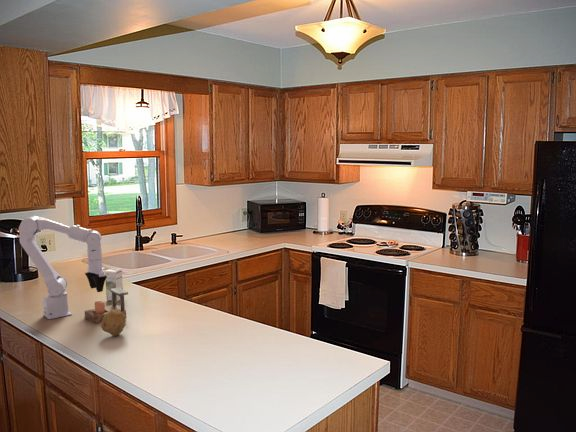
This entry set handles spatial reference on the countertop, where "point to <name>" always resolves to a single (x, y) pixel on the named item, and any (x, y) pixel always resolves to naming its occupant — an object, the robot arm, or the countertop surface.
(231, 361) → the countertop surface
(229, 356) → the countertop surface
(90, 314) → the socket station
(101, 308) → the peg
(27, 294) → the countertop surface
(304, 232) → the countertop surface
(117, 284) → the syrup box
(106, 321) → the natural sponge
